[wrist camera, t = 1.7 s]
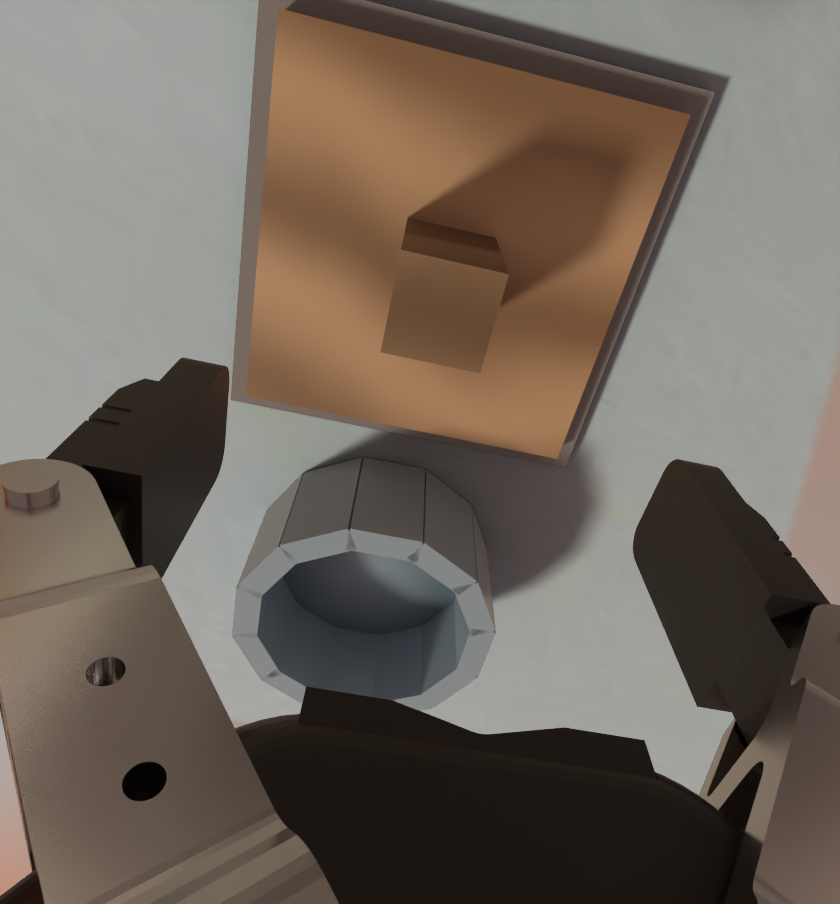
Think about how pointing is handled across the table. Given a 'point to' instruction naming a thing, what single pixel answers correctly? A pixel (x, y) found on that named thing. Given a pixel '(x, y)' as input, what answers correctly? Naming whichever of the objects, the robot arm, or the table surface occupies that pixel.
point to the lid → (443, 235)
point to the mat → (350, 8)
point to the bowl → (367, 587)
